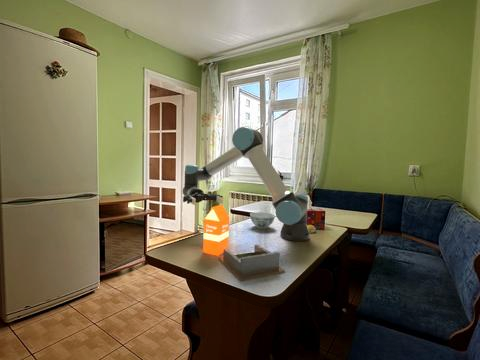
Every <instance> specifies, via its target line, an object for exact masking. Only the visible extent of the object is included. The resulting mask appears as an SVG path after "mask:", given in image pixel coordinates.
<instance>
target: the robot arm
mask: <svg viewBox="0 0 480 360" xmlns="http://www.w3.org/2000/svg"><path fill="white" fill-rule="evenodd" d="M231 141H232V145H233V147H232V148H229V150H228V151H226V152H224V153H222V154H221V155H219V156H218V157H217V158H215V159H213V160H212V161H210V162H209V163H207V164H206V165H204V166H203V167H199V166H198V165H197V164H196V165H195V164H194V165H193V164H186V165H185V169H184V184H183V185H184V186H183V188H182V194H183V197H182V202H183V203H185V202H186V204H192V205H193V206H195V205H196V204H197V203H201V202H202V201H214V202H216V203H219V205H223V204H224V198H223V197H224V196H223V195H220V194H212V193H205V192H204V191H203V189H200V188H199V187H198V186H199V182H201V181H202V182H203V181H208V180H210V179H212V177H213V176H214V175H216V174H217V173H219V172H221V171H223V170H224V169H226V168H227V167H229V166H230V165H232V164H234V163H235V162H236V161H238V160H240V159H242V158H245V159H248V161H249V162H250V165H251V166H252V167H253V168H254V170H255V172H256V174H257V175H258V177H259V179H260V180H261V182H262V183H263V185H264V187H265V188H266V190H267V192H268V193H269V195H270V197H271V198H272V203H271V204H272V206H273V208H274V209H275V217H276V218H277V220H278V221H279V222H280V223H282V227H281V230H280V234H279V236H280V237H281V238H282V239H284V240H288V241H293V242H294V241H295V242H306V241H308V240H309V239H310V233H309V232H308V228H307V225H308V224H307V220H308V205H309V204H308V203H309V200H308V199H309V197H308V196H307V195H301V194H295V192H294V191H292V190H289V189H288V187H287V186H286V185H285V183H284V182H283V179H282V178H281V177H280V175H279V174H278V172H277V170H276V168H275V167H274V165H273V163H272V162H271V160H270V159H269V158H268V157H269V156H268V155H267V154H266V153H265V151H264V147H265V145H264V137H263V135H262V133H261V132H260V131H259V130H256V129H253V128H251V127H249V126H241V127H238V128H237V129H236V130H234V132H233V134H232V139H231Z"/></svg>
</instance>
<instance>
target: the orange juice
mask: <svg viewBox="0 0 480 360" xmlns="http://www.w3.org/2000/svg"><path fill="white" fill-rule="evenodd" d="M229 233H230V216H229V215H228V212H227V210H226V208H225V207H224V205H223V204H219V205H215V206H212V207H211V209H210V210H209V212H208V213H207V214H206V216H205V218H204V219H203V242H202V243H203V244H202V245H203V248H202V249H203V250H202V252H203V253H204V254H208V255H212V256H213V255H214V256H218V257H220V255H222V254H223V251H224V249H225V248H227V249H228V250H229V238H230V237H229V236H230V235H229Z"/></svg>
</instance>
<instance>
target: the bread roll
mask: <svg viewBox="0 0 480 360" xmlns="http://www.w3.org/2000/svg"><path fill="white" fill-rule="evenodd" d="M307 228H308V232H309V234H313V232H314V233H315V232H316V231H317V228H316V227H315V225H313V224H307Z"/></svg>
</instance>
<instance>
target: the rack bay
mask: <svg viewBox="0 0 480 360" xmlns="http://www.w3.org/2000/svg"><path fill="white" fill-rule="evenodd" d="M222 254H223V255H222V256H218V258H217V259H218V261H220V262H221V263H222V265H223V266H224V267H226V268H227V270H229V271H230V273H232V274H233V275H234V276H235V278H237V279H238V280H239V281H240V282H244V281H249V280H253V279H259V278H263V277H268V276H273V275H279V274H282V273H283V274H284V273H285V272H286V270H285V269H284V268H282V267H280V260H281V259H280V257H281V252H280V251H275V252H270V251H269V250H267V249H266V248H264V247H262V246H261V245H259V244H254V250H252V251H247V252H246V251H245V252H238V253H233V252H232V251H231V250H229V248H228V249H227V248H225V249H224V251H223V253H222Z"/></svg>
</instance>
